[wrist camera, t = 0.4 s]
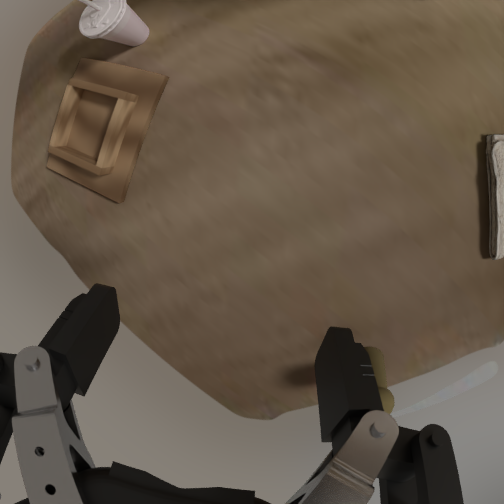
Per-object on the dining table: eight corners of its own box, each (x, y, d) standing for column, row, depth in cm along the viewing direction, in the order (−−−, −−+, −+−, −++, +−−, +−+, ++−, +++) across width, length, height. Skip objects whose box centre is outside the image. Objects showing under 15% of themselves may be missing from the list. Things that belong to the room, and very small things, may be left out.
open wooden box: (85, 58, 32) (68, 53, 28) (169, 77, 32) (155, 70, 28) (51, 166, 38) (33, 169, 34) (123, 201, 38) (107, 207, 34)
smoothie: (162, 14, 29) (109, -29, 16) (152, 53, 31) (91, 20, 18) (124, 19, 29) (65, -14, 16) (114, 56, 31) (48, 33, 18)
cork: (338, 368, 42) (345, 421, 32) (361, 341, 40) (375, 393, 30) (367, 380, 42) (378, 431, 32) (391, 354, 40) (408, 404, 30)
